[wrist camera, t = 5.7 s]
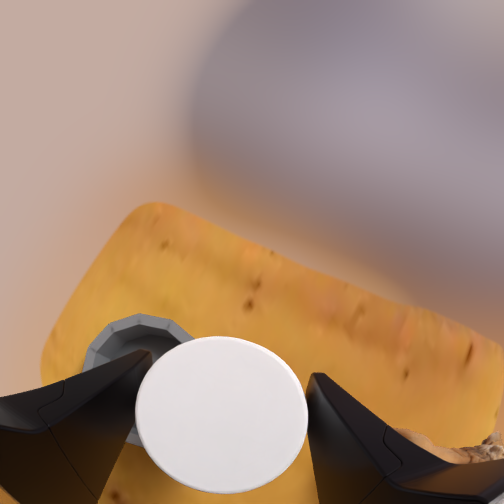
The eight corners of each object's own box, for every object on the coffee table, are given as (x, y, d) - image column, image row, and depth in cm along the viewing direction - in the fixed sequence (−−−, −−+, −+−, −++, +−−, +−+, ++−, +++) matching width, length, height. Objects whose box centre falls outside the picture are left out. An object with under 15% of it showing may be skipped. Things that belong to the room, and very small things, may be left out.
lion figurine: (458, 436, 15) (524, 427, 8) (441, 483, 13) (506, 488, 5) (341, 413, 18) (403, 411, 10) (316, 471, 15) (366, 502, 8)
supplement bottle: (270, 459, 12) (323, 523, 3) (174, 444, 12) (94, 482, 4) (282, 373, 15) (344, 321, 6) (190, 359, 15) (136, 289, 7)
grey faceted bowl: (123, 451, 15) (106, 456, 12) (90, 345, 19) (72, 334, 17) (234, 421, 17) (234, 424, 15) (189, 313, 22) (183, 298, 19)
